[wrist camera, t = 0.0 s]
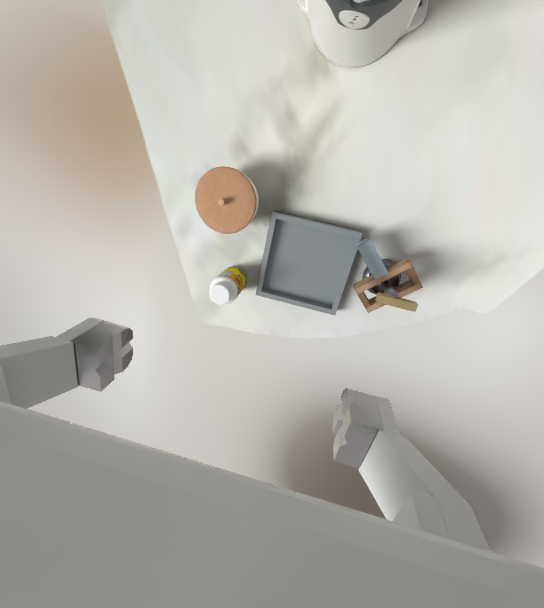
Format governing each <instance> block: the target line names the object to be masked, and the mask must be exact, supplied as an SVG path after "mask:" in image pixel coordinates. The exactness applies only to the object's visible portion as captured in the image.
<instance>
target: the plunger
mask: <svg viewBox="0 0 544 608" xmlns="http://www.w3.org/2000/svg"><path fill="white" fill-rule="evenodd" d="M381 260H382V262H383V264H384V266H385V268H386V267H388V266H390V265H392V264H394V263H393V262H392V261H389V260H385V259H381ZM371 275H372V273H371V272H370V270H369V268H368V266H367V267H366V268H365V270H364V272H363V276H362V279H365V278H367V277H369V276H371ZM400 279H401V273H399V274H397V275H395V276H393V277H391V278H389V279H387V280H385V281H383V282H381V283H379V284H377V285H375V286H373V287H371V288H369V289H367V290H368V291H370V292H371V293H374V294H377V296H376V298H375V300H376V302H378V303H382V304H386V305H390V306H394V307H398V308H402V309H406V310H410V311H414V312H415V311H416V308H417V306H418V304H417V303H416V302H414V301H410V300H406V299H402V298H400V297H399V296H398V294H397V292H396V291H395V289H394V287H396V286H398V285H399V282H400ZM384 292H385V294H382V293H384Z"/></svg>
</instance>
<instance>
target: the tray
mask: <svg viewBox="0 0 544 608" xmlns="http://www.w3.org/2000/svg"><path fill="white" fill-rule="evenodd" d="M362 234H363V233H362V232H361V231H357V230H353V229H349V228H345V227H340V226H336V225H332V224H328V223H323V222H319V221H315V220H311V219H306V218H302V217H298V216H294V215H289V214H285V213H281V212H277V211H273V212H272V214H271V219H270V224H269V229H268V234H267V239H266V245H265V250H264V255H263V260H262V265H261V270H260V275H259V280H258V285H257V291H256V295H259V296H262V297H266V298H270V299H274V300H278V301H282V302H285V303H289V304H293V305H297V306H301V307H305V308H309V309H312V310H316V311H320V312H324V313H328V314H332V315H335V314H336V311H337V308H338V305H339V302H340V299H341V296H342V293H343V290H344V287H345V284H346V281H347V278H348V275H349V273H350V270H351V267H352V264H353V261H354V258H355V255H356V252H357V249H358V248H357V246H356V243H358V242H360V240H361V237H362Z"/></svg>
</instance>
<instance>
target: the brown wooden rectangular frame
mask: <svg viewBox="0 0 544 608" xmlns="http://www.w3.org/2000/svg"><path fill="white" fill-rule="evenodd" d="M356 246H357V248H358V250H359V251H360V253H361V255H362V257H363V259H364V261H365V262H366V264H367V266H368V268H369V270H370V272H371V273H372V275H371V276H369V277H367V278H365V279H363V280H361V281H359V282H357V283H355V284H353V285H354V289H355V291H356V293H357V294H358V296H359V298H360V300H361V301H362V303H363V305H364V307H365V308H366V310H367V312H368V313H369V312H371V311H373V310H375V309H378V308H380V307H382V306H384V305H386V304H382V303H378V302H376V300H375V298H376V296H375V297H373V298H371V299H369V300H368V298H367V297H366V295H365V293H364V291H365V290H367V289H369V288H371V287H373V286H375V285H377V284H379V283H381V282H383V281H385V280H387V279H389V278H391V277H393V276H395V275H397V274H399V273H401V272H403V271H406V273H407V275H408V277H409V279H410V280H409V281H407V282H405V283H402V284H400V285H398V286H396V287H394V289H395V291H396V292H397V294H398V296H399V297H400V298H401V297H403V296H406V295H408V294H410V293H412V292H414V291H416V290H418V289H421V288H423V287H422V285H421V283H420V281H419V279H418V277H417V275H416V273H415V271H414V269H413V267H412V265H411V263H410V261H409V260H407V259H406V258H404V259H402V260H400V261H398V262H396V263H394V264H392V265H390V266H388V267H386V268H385V266H384V264H383V262H382V260H381V258H380V257H379V255H378V253H377V251H376V249H375V247H374V245H373V243H372V241H371V240H370V238H369V237H367V238H365V239H364V240H362V241H360V242H358V243H356ZM382 294H385V292H384V293H382Z"/></svg>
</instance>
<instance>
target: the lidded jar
mask: <svg viewBox="0 0 544 608" xmlns="http://www.w3.org/2000/svg"><path fill="white" fill-rule="evenodd" d="M195 203H196V208H197V211H198V213H199V216H200V217H201V219H202V220H203V221H204V223H205V224H206V225H207V226H208V227H210V228H211V229H213V230H215V231H217V232H220V233H225V234H231V233H236V232H238V231H240V230H242V229H244V228H245V227H246V226H247V225H248V224H249V223H250V222H251V221H252V220H253V218H254V217H255V215H256V213H257V210H258V204H259V198H258V193H257V190H256V187H255V185H254V183H253V182H252V181H251V179H250V178H249V177H248V176H246V175H245V174H244V173H242V172H240V171H238V170H236V169H234V168H230V167H217V168H213V169H211V170H209V171H208V172H206V173H205V174H204V175H203V176H202V177H201V179H200V180H199V182H198V185H197V187H196V192H195Z"/></svg>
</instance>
